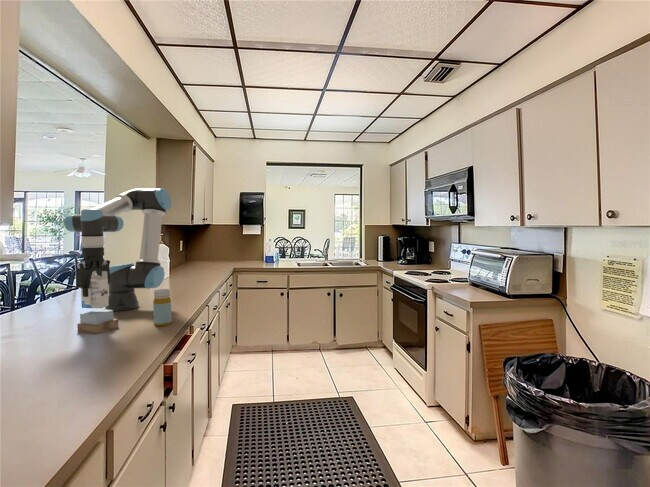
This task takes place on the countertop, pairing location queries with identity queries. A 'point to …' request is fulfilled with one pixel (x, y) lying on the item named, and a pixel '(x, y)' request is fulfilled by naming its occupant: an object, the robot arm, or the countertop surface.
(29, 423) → the countertop surface
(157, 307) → the bottle
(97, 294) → the ink box
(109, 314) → the light grey block
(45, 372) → the countertop surface
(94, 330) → the walnut block
